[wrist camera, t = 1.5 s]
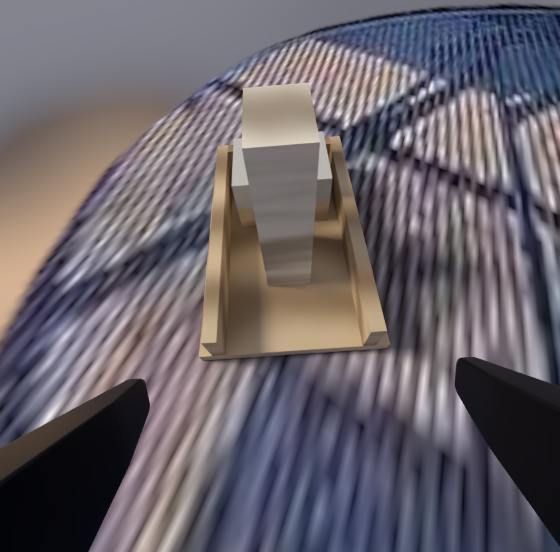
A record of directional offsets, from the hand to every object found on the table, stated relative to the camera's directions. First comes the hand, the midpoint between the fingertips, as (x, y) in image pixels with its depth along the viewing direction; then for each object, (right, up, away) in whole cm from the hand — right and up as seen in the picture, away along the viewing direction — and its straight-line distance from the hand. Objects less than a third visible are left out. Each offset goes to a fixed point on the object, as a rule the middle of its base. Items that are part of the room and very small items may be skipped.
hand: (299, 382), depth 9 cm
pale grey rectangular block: (0, +4, +17) cm, 18 cm away
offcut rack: (0, +6, +19) cm, 20 cm away
